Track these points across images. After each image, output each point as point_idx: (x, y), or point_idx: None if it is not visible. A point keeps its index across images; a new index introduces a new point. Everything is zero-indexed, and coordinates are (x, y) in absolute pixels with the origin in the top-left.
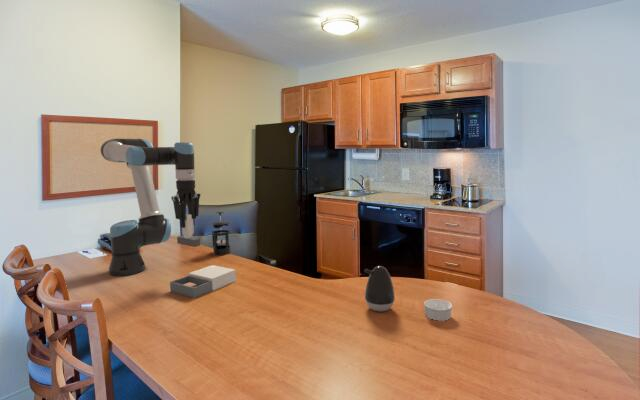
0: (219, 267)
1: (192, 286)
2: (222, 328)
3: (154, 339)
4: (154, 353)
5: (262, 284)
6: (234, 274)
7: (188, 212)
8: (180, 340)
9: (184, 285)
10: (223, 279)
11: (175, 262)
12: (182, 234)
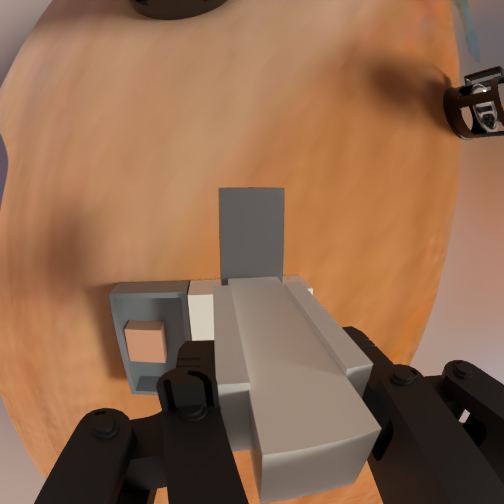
0: None
1: (149, 360)
2: None
3: (34, 420)
4: (31, 438)
5: None
6: None
7: (413, 439)
8: (60, 447)
9: (124, 358)
10: None
11: (330, 33)
12: (213, 288)
